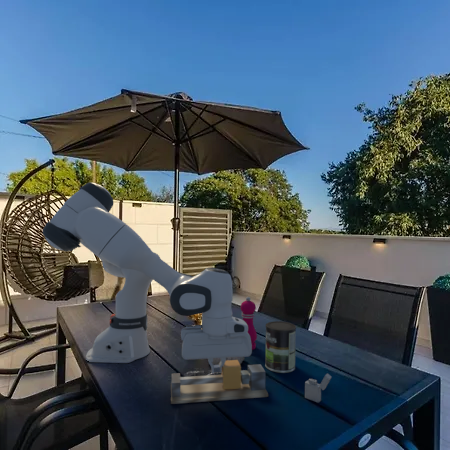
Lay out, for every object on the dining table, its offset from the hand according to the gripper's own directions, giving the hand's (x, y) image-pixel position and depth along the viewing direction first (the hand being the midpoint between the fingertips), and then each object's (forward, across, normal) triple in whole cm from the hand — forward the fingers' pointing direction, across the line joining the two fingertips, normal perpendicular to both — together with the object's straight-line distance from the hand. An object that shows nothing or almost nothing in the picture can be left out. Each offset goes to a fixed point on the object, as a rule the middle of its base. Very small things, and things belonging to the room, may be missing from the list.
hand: (216, 372), depth 95 cm
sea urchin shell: (+6, +6, +20) cm, 22 cm away
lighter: (+6, +27, -9) cm, 29 cm away
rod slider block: (+6, +1, 0) cm, 6 cm away
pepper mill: (+6, +17, +33) cm, 38 cm away
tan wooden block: (+4, +4, 0) cm, 6 cm away
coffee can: (+6, +24, +14) cm, 29 cm away
